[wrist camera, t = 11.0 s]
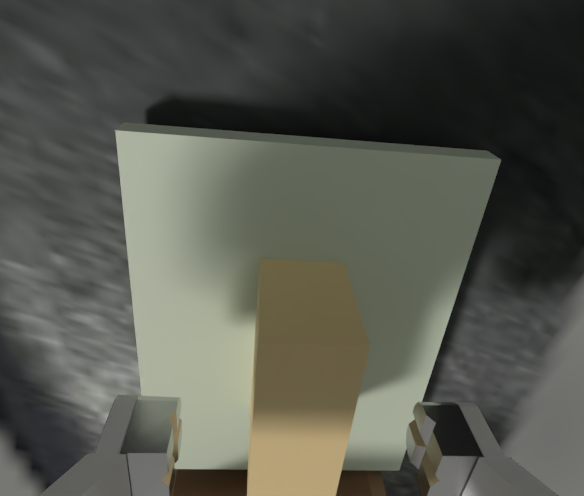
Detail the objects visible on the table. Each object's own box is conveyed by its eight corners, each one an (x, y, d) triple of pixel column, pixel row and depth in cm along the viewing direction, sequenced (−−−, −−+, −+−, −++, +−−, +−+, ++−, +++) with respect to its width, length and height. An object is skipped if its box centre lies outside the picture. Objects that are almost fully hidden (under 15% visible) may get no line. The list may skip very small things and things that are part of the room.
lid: (133, 115, 12) (53, 182, 7) (475, 142, 13) (589, 217, 8) (157, 432, 18) (122, 574, 13) (389, 435, 19) (428, 571, 14)
